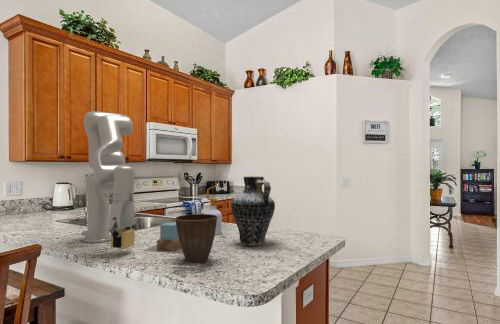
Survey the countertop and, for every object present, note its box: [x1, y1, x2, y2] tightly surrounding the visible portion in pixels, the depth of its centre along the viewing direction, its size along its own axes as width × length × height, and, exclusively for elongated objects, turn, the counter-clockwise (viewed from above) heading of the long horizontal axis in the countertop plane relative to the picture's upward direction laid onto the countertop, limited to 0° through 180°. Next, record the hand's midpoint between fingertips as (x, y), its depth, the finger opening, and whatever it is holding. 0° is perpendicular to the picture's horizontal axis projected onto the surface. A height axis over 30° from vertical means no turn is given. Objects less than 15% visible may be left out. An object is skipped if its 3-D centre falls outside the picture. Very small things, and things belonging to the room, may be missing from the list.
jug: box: [230, 175, 276, 246], centre depth 143 cm, size 21×19×30 cm
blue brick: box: [159, 222, 179, 241], centre depth 133 cm, size 6×6×6 cm
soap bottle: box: [204, 185, 223, 236], centre depth 166 cm, size 9×9×25 cm
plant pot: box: [174, 213, 217, 265], centre depth 116 cm, size 15×15×16 cm
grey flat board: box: [143, 244, 183, 254], centre depth 132 cm, size 18×12×1 cm, turn 76°
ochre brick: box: [110, 228, 135, 250], centre depth 124 cm, size 6×6×6 cm
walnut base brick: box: [156, 238, 181, 251], centre depth 132 cm, size 8×8×4 cm
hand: (122, 244), depth 124 cm, fingers closed on ochre brick, 6 cm apart
